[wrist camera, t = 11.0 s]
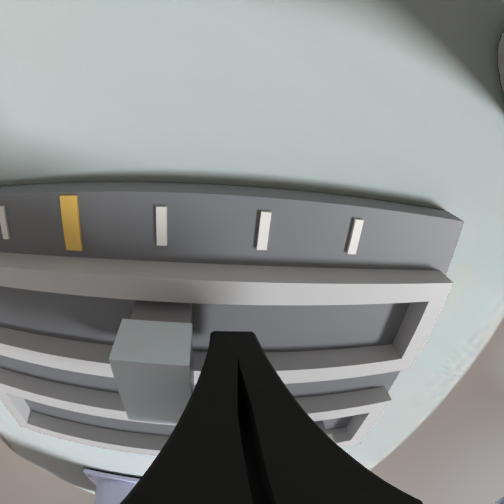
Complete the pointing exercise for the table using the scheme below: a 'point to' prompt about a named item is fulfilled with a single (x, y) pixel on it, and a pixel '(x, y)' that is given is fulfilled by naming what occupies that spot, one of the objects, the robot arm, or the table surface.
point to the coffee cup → (501, 60)
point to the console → (213, 295)
